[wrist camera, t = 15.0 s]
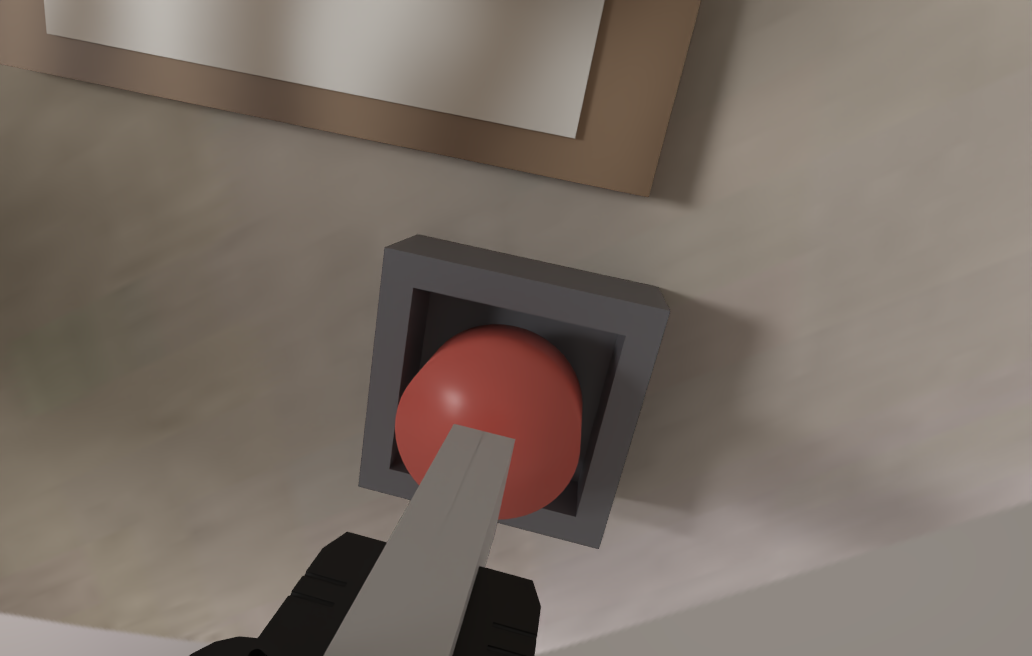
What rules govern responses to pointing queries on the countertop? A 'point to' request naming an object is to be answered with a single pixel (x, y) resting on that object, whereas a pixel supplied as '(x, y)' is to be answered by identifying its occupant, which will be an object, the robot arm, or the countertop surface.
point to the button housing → (542, 310)
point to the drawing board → (396, 70)
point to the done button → (498, 409)
